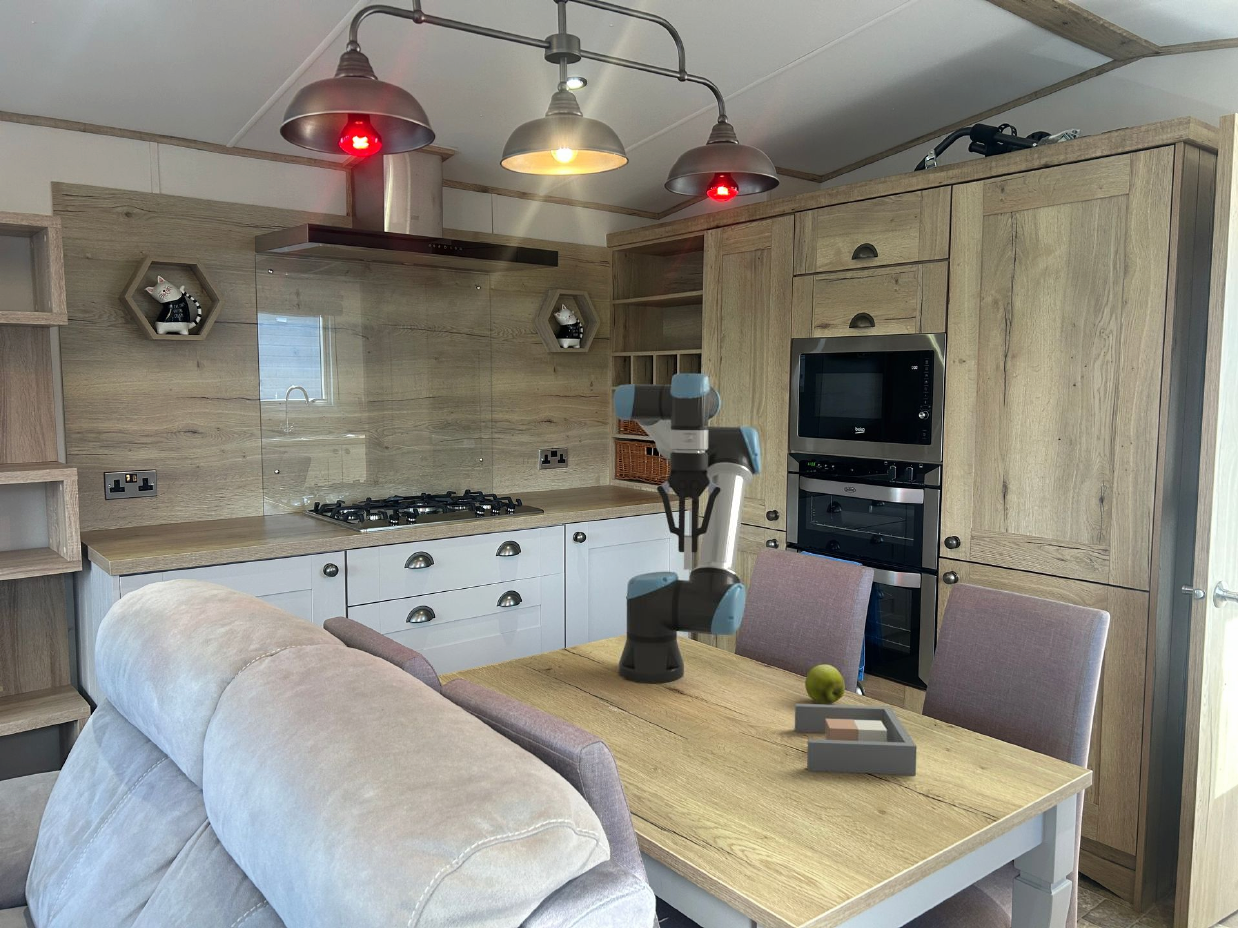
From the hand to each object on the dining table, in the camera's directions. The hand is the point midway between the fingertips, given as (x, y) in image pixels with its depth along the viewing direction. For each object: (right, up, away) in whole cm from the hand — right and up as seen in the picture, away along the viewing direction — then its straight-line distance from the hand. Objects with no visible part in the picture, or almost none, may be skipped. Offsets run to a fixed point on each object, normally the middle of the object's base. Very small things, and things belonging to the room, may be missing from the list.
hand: (687, 568), depth 183 cm
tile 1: (+26, -31, -18) cm, 45 cm away
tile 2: (+31, -31, -18) cm, 48 cm away
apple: (+29, -29, +8) cm, 42 cm away
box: (+28, -31, -18) cm, 46 cm away
